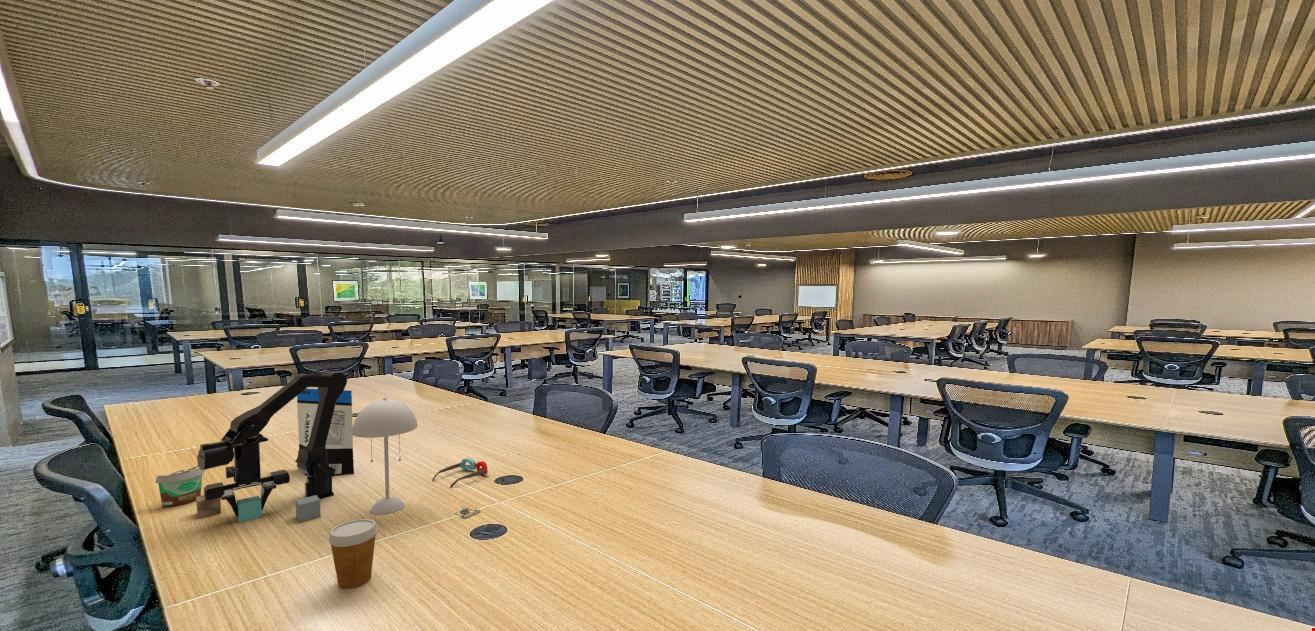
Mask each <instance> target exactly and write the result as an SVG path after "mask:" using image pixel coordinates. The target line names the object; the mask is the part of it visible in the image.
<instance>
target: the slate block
mask: <svg viewBox="0 0 1315 631" xmlns="http://www.w3.org/2000/svg"><path fill="white" fill-rule="evenodd" d="M321 513H322V512H321V498H318V497H317V495H314V496H310V497H306V496H305V497H303V498H299V499H295V517H296V519H297V520H298V522H299V523H301V522H306V521H308V520H309V521H310V520H314V519H317V518H321V517H322V514H321Z"/></svg>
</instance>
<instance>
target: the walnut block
mask: <svg viewBox="0 0 1315 631" xmlns="http://www.w3.org/2000/svg"><path fill="white" fill-rule="evenodd" d="M195 502H196V503H195V504H196V515H197V516H196V517H197V519H203V518H207V517H210V516H215V515H218V514H220V515H221V514H222V508H221V507H222V505H221V502H222V500H221V498H216V499H211V500H205V496H204V494H203V495H202V494H201V496H198V497H196V501H195Z"/></svg>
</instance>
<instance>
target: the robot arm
mask: <svg viewBox="0 0 1315 631" xmlns="http://www.w3.org/2000/svg"><path fill="white" fill-rule="evenodd" d="M347 383H348V378H347V376H346V375H345V374H344V373H342V372H337V371H330V370H329V371H324V372H323V373H322V374H320V373H319V374H318V373H316V374H315V373H310V374H308V373H307V374H305V373H299V374H297V375H295V376H294V377H293V379H291V380H290V381H289V382H288V383H287V384H285V385H284V386H282V387H281V388H280V389H279V390H277V391H276V392H275V393H274V394H272V395H271V396H270V397H269V398H267V399H266V400H265V401H263V402H262V403H261V404H260V405H258V406H256V407H254V408H251V409H249V410H246V411H244V412H243V413H241V414H240V415H238V416H236V417H235V418H233V419H232V421H231V422H230V426H229V429H228V430H227V431H226V433H225V434H223V435H224V436H222V438H221V439H220V441H216V442H211V443H202V444H200V445H199V447H200V448H199V450H198V454H197V456H196V460H197V466H199V468H200V469H201V470H205V471H206V470H209V469H213V468H218V467H224V466H226V465H227V466H226V467H225V479H233V482H234V483H229V484H225V485H224V483H223V481H220V482H214V483H210V484H207V485H205V486H204V487H203V495H204V496H205V500H211V499H216V498H220V500H221V501H225V500H226V501H227V503H228V504H229V505H230V507H231V509H232V511H233V513H234V515H235V517H236V518H237V517H238V508H237V502H236V495H235V492H234V491H237V490H241V489H246V488H250V487H255V486H261V488H260V499H261V511H263V510H264V507H265V505H266V502H267V500H268V498H269V496H270V494H271V493H272V491H273V490H274V489H276V488H277V486H280V485H284V484H285V485H286V484H289V483H291V479H290V477H291V476H290V474H289V472H288V471H287V470H286V469H281V470H274V471H271V472H270V474H269V476H262V477H261V474H262V473H261V452H260V450H261V449H260V447H261V446H260V443H264V442H268V441H269V438H267V437H265V436H264V435H263V434H262V433H261V432H262V431H263V429H264V428H265V427H267V425H268V424H269V421H270V420H271V418H272V417H273V416H274V415H275V414H277V413H278V412H279V411H280V410H281V409H282V408H284V407H285V406H286V405H287V404H289V403H290V402H291V401H293V400H295V399H296V398H297V395H299V394H300V393H301V392H302V391H303V390H305V389H308V388H317V389H318V393H319V403H318V407H317V411H316V415H315V419H314V423H313V427H312V431H311V435H310V439H309V443H308V445H307V446H306V447H305V449H304V450H303V449H299V448H298V451H297V457H296V459H295V461H294V462H295V463H296V468H297V469H298V470H299V471H300V472H301V473H302V474H304V476H306V482H305V483H304V495H305V498H306V497H310V496H314V495H317V497H318V498H319V499H322V498H327V497H331V496H334V495H335V493H334V492H333V477H335V476H334V473H335V469H333V468H332V467H330V466H329V465H327V451H326V441H327V437H328V433H329V429H330V425H331V421H332V417H333V413H334V409H335V405H336V401H337V399H338V398H339V397H340V396H341V394H342V393H343V391H344V390H345V388H346V386H347ZM233 461H234V462H233ZM231 462H232V463H234V464H233V465H230V466H228V465H229V464H230V463H231Z"/></svg>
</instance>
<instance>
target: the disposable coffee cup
mask: <svg viewBox="0 0 1315 631" xmlns="http://www.w3.org/2000/svg"><path fill="white" fill-rule="evenodd" d="M378 530H379V527H378V525H377V523H376V521H375V520H373V519H370V518H369V519H367V518H363V519H354V520H349V521H345V522H343V523H340V524H338V525H336V526H335V527H333V528H332V529H331V530H330V532H329V535H328V537H327V541H328V542H329V545H330V547H331V554H332V558H333V563H334V564H333V565H334V570H335V573H336V574H335V575H336V580H337V585H338V588H341V589H352V588H353V589H354V588H358V587H360V586H362V585H364V584H366V583H367V582H369V581H370V580H371V578H372V572H373V561H374V555H375V552H374V551H375V544H376V536H377V533H378Z"/></svg>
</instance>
